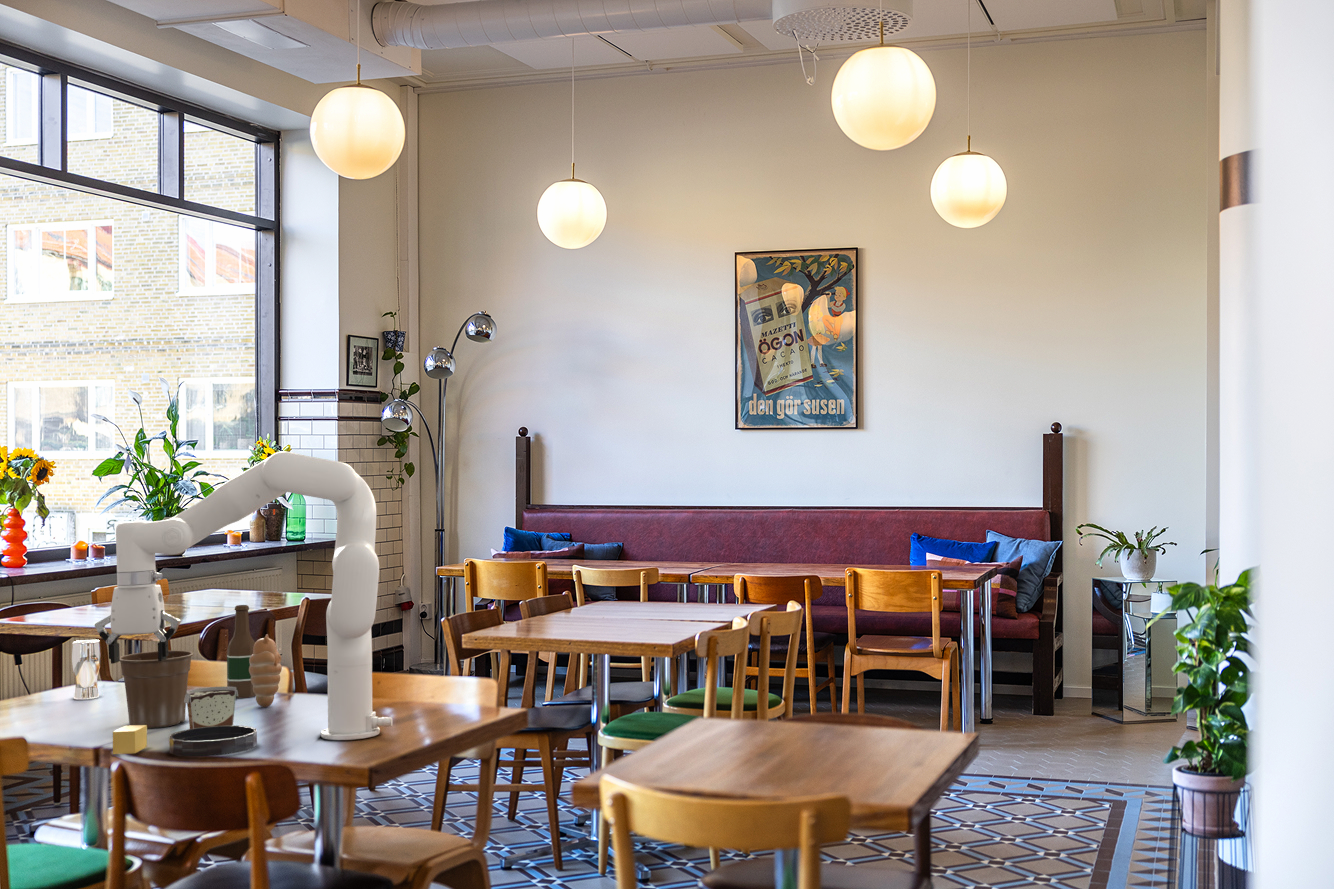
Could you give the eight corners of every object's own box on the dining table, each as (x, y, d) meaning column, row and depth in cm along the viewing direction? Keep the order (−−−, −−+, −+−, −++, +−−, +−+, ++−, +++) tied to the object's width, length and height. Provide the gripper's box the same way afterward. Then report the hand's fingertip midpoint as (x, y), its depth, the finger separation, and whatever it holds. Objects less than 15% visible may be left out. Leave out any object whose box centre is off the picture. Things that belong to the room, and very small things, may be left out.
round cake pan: (266, 740, 275) (265, 724, 275) (243, 757, 258) (243, 740, 258) (185, 743, 274) (184, 726, 274) (157, 759, 257) (157, 742, 257)
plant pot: (138, 733, 286) (137, 661, 287) (106, 725, 297) (106, 656, 298) (206, 722, 298) (205, 653, 299) (173, 715, 309) (173, 648, 310)
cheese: (147, 748, 269) (147, 724, 269) (135, 755, 262) (134, 731, 262) (125, 749, 268) (125, 725, 269) (112, 756, 261) (112, 731, 262)
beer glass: (82, 695, 343) (81, 639, 343) (106, 695, 342) (105, 639, 342) (66, 700, 336) (66, 643, 336) (90, 700, 335) (90, 643, 335)
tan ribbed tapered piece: (281, 709, 315) (280, 636, 316) (247, 711, 313) (247, 637, 314) (282, 703, 324) (282, 632, 325) (250, 705, 322) (250, 633, 323)
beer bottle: (230, 694, 340) (230, 604, 341) (260, 693, 341) (260, 603, 342) (223, 699, 333) (223, 607, 334) (254, 698, 334) (253, 606, 334)
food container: (223, 728, 290) (223, 684, 291) (238, 731, 286) (238, 686, 287) (173, 737, 281) (172, 691, 281) (187, 740, 277) (187, 694, 277)
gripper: (184, 576, 271) (186, 657, 271) (101, 580, 270) (103, 661, 270) (172, 579, 264) (174, 662, 263) (87, 583, 263) (89, 666, 262)
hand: (138, 661), depth 267 cm, fingers open, 9 cm apart
